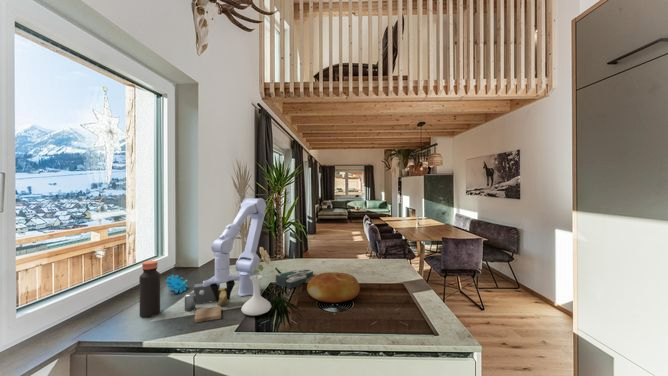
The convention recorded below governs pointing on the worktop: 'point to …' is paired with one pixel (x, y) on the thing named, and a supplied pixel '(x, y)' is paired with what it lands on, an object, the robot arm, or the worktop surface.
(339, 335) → the worktop surface
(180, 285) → the blue bumpy lump
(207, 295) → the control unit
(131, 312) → the worktop surface
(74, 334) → the worktop surface
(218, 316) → the walnut pad
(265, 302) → the flower in vase
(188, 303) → the steel fitting
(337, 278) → the bread
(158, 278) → the bottle
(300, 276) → the communication device
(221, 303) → the brass fitting
